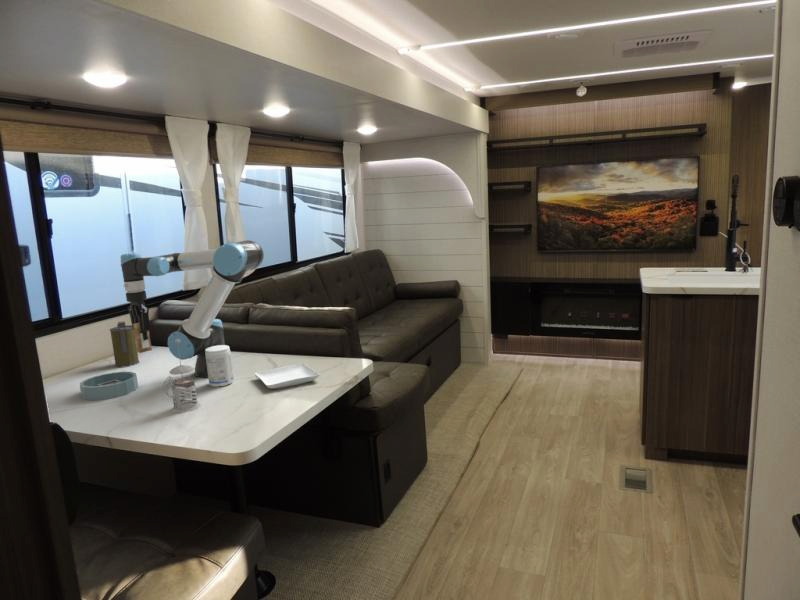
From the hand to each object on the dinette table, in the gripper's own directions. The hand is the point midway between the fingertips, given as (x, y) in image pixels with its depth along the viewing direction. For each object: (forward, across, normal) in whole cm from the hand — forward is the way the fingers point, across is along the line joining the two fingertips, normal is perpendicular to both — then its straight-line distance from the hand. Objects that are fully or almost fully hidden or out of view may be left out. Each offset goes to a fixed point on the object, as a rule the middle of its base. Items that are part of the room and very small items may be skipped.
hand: (143, 347), depth 241 cm
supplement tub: (+15, +34, +13) cm, 39 cm away
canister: (+14, -35, +8) cm, 39 cm away
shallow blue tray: (+14, +1, -16) cm, 21 cm away
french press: (+15, +47, -11) cm, 50 cm away
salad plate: (+16, +55, +29) cm, 64 cm away
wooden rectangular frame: (+2, 0, 0) cm, 2 cm away
